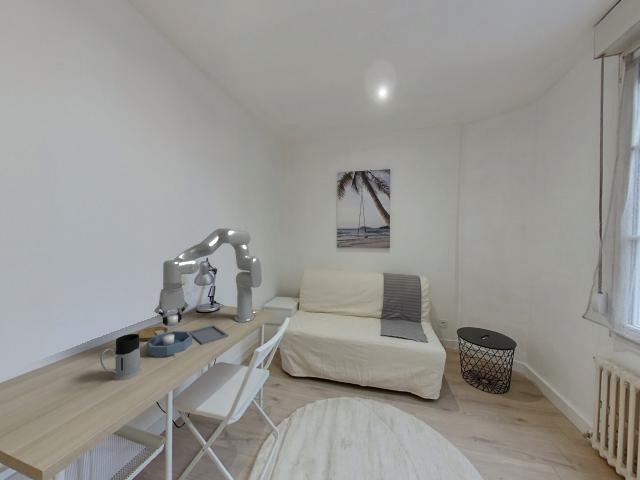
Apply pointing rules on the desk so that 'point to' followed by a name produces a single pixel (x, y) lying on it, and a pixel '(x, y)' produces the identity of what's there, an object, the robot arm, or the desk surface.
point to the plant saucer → (150, 332)
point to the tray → (208, 334)
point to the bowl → (180, 344)
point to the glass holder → (126, 357)
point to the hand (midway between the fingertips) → (172, 322)
